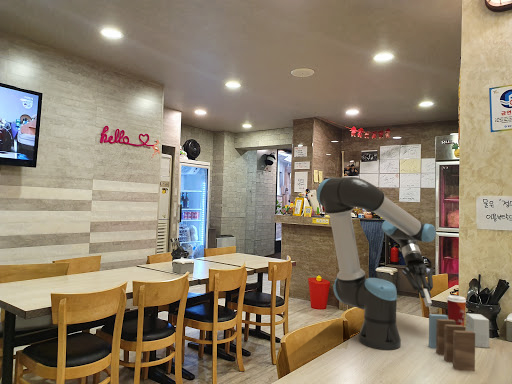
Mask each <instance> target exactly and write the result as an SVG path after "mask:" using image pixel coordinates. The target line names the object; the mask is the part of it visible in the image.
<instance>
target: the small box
mask: <svg viewBox="0 0 512 384" xmlns="http://www.w3.org/2000/svg"><path fill="white" fill-rule="evenodd" d="M465 322H466V323H465V325H466V326H465V331H472V332H474V333H475V348H476V347H477V348H488V349H489V348H490V320H489V319H488V318H487V317H485V316H484V315H482V314H479V313H466V312H465Z"/></svg>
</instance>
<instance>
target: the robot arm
mask: <svg viewBox="0 0 512 384" xmlns="http://www.w3.org/2000/svg"><path fill="white" fill-rule="evenodd" d="M315 193H316V200H317V202H318V203H319V204H320V205H321V206H322V207H323V209H324V213H325V214H326V215H328V217H329V220H330V227H331V230H332V236H333V242H334V247H335V254H336V259H337V266H338V270H339V271H338V272H337V273H336V278H335V280H334V283H333V293H334V296H335V298H336V299H337V300H338V301H339V302H341V303H343V304H345V305H347V306H350V307H355V308H358V309H360V310H363V311H364V313H363V315H364V316H363V317H364V318H363V323H362V324H361V325H362V326H361V329H360V330H359V335H358V340H359V343H361V344H363V345H365V346H366V347H367V346H368V347H370V348H372V349H378V350H397V349H399V348H401V341H402V339H401V336H400V332H399V330H398V325H397V301H398V294H397V293H398V292H397V288H396V285H395V284H394V283H393V282H391V281H390V280H389V281H388V280H386V279H383V278H378V277H368V278H367V276H366V272H365V270H363V269H362V268H361V265H360V257H359V251H358V245H357V240H356V235H355V229H354V224H353V219H352V212H353V211H354V209H355V208H359V209H362V210H364V211H366V212H368V213H374V214H375V215H377V216H378V217H380V218H382V219H383V220H384V221H383V222H382V225H381V230H382V231H383V232H384V234H385V235H387V236H388V237H390V238H391V239H392V240H394V241H395V242H396V243H397V244H399V246H400V250H401V253H402V257H403V259H404V262H405V265H406V267H403V269H402V271H401V273H402V274H403V275H404V276H405V277H406V279H407V280H408V282H409V284H410V286H411V289H413V290H414V291H417V293H418V294H419V295H420V296H419V297H420V298H421V299H423V302H424V305H425V307H428V308H429V307H430V306H431V305H432V303H433V302H432V299H431V297H432V294H431V291H432V289H433V288H434V284H433V283H434V281H433V271H434V269H433V268H429V267H427V265H426V264H425V262H424V261H425V260H424V258H423V255H422V252H421V250H420V247H419V245H418V243H417V242H423V243H431V242H433V241H434V240H435V238H436V236H437V231H436V230H437V229H436V228H435V226H434V225H433V224H430V223H423V222H422V221H420V220H419V219H417V218H416V217H415V216H413V215H412V214H410V213H409V212H407V211H406V210H405V209H403V208H402V207H400V206H399V205H397V203H395V202H393V201H392V200H391V199H390V198H388V197H387V196H386V194H385V192H384V191H383V190H381V189H380V188H379V187H377V186H375V185H374V184H372V183H371V182H369V181H367V180H364V179H362V178H360V177H356V176H355V177H354V176H346V177H330V178H326V179H323V180H322V181H321V182H320V183H319V186H318V187H317V189H316V192H315ZM425 272H426V273H425ZM426 275H427V278H426Z"/></svg>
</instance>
